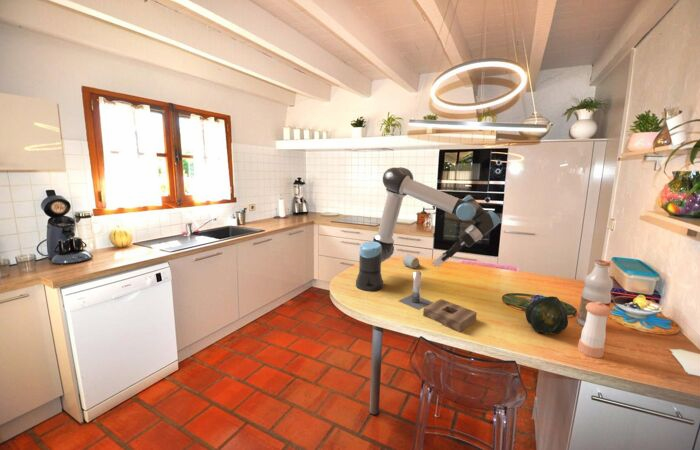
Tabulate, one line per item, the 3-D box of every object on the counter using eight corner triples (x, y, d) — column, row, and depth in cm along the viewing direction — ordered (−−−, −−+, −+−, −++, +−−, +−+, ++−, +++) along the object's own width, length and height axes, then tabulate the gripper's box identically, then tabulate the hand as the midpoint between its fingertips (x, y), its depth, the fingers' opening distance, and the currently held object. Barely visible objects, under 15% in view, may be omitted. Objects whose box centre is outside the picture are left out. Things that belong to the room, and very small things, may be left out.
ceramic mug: (411, 269, 193) (412, 258, 192) (402, 266, 199) (403, 255, 198) (422, 267, 199) (423, 255, 198) (413, 263, 206) (414, 252, 204)
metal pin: (410, 301, 146) (412, 271, 143) (414, 299, 149) (416, 270, 146) (416, 304, 144) (418, 273, 141) (420, 301, 146) (422, 272, 143)
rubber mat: (397, 301, 147) (397, 301, 146) (412, 295, 155) (412, 294, 154) (418, 310, 138) (418, 309, 138) (433, 303, 146) (433, 302, 146)
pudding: (557, 307, 144) (559, 297, 143) (550, 315, 136) (552, 305, 135) (529, 299, 153) (531, 289, 152) (521, 306, 145) (522, 296, 144)
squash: (514, 315, 124) (547, 296, 115) (522, 304, 135) (553, 286, 127) (541, 346, 118) (577, 329, 110) (547, 333, 129) (581, 316, 121)
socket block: (423, 316, 133) (423, 307, 132) (440, 307, 142) (441, 299, 141) (459, 332, 120) (460, 323, 120) (475, 320, 130) (476, 312, 129)
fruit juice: (575, 317, 134) (585, 256, 129) (602, 323, 130) (614, 260, 124) (578, 327, 126) (590, 262, 121) (607, 333, 121) (621, 266, 116)
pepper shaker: (599, 360, 104) (609, 308, 100) (574, 350, 110) (583, 300, 106) (606, 353, 108) (616, 303, 105) (581, 343, 114) (590, 295, 110)
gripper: (481, 240, 132) (443, 271, 133) (470, 244, 156) (437, 270, 157) (469, 227, 133) (431, 258, 135) (460, 233, 158) (428, 259, 159)
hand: (434, 264), depth 146 cm, fingers open, 13 cm apart
